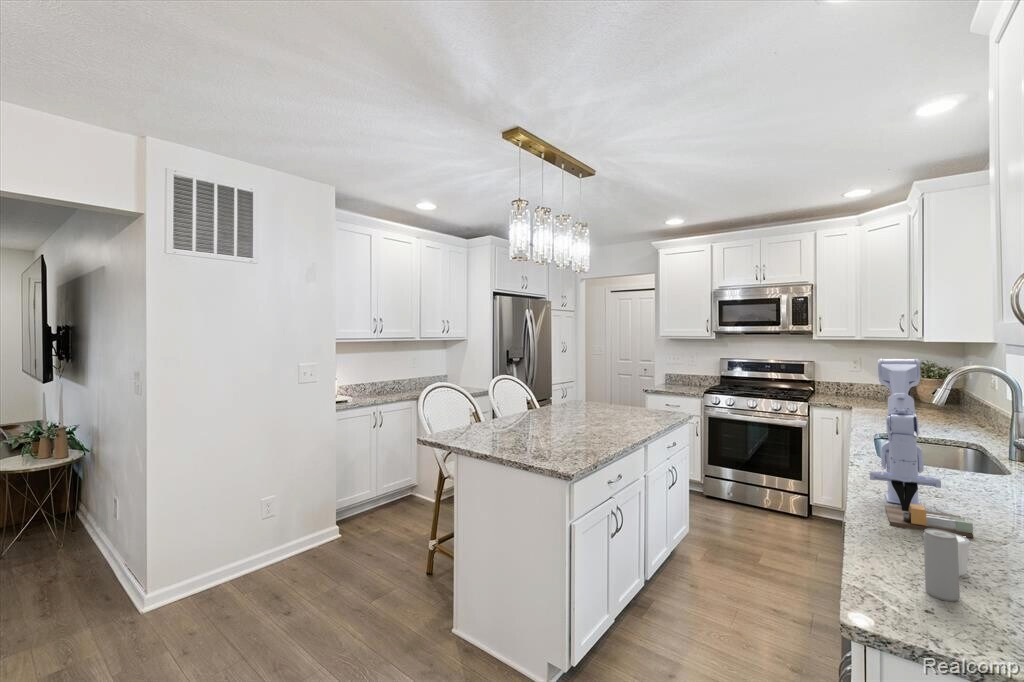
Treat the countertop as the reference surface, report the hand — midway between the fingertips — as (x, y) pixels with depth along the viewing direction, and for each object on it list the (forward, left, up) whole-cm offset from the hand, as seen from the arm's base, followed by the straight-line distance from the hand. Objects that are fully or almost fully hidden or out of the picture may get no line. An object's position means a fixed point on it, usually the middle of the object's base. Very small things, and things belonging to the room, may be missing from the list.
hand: (904, 510), depth 123 cm
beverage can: (+42, +2, -4) cm, 42 cm away
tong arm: (-1, +7, -3) cm, 7 cm away
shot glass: (+27, +5, -4) cm, 27 cm away
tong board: (-5, +5, -4) cm, 8 cm away
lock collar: (0, +3, -3) cm, 4 cm away
